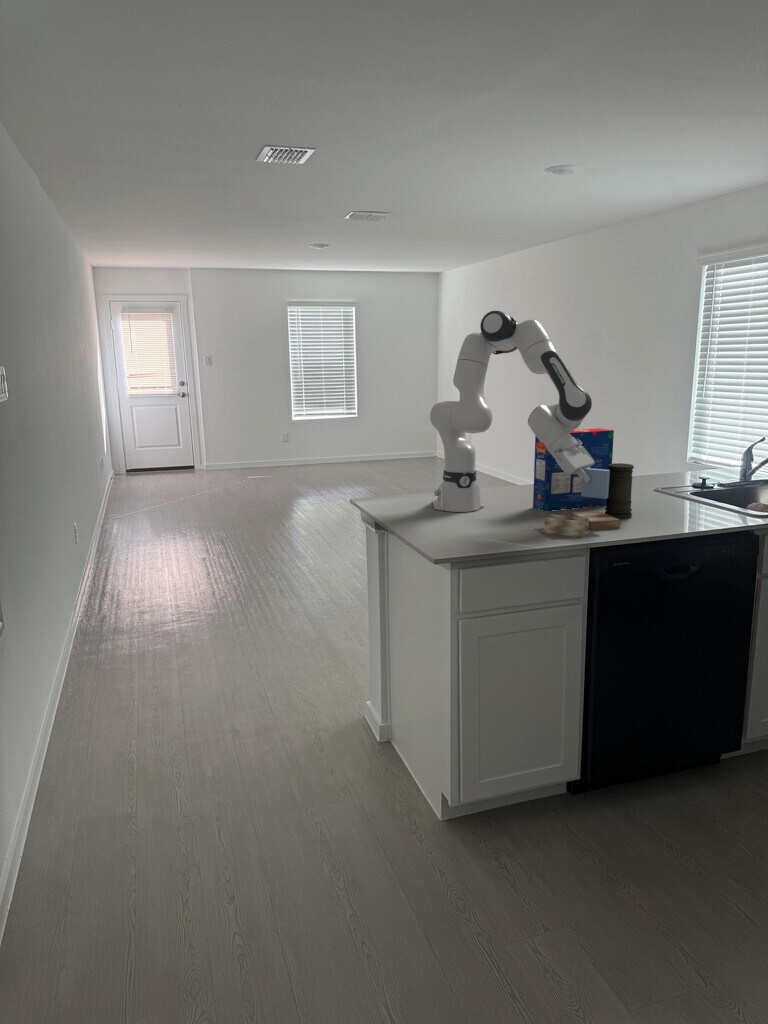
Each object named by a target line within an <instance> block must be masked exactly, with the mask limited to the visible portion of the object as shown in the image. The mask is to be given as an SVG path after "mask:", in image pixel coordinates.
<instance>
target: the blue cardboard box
mask: <svg viewBox="0 0 768 1024" xmlns="http://www.w3.org/2000/svg"><path fill="white" fill-rule="evenodd" d="M569 433H570V434H571V436H573V437H574V438H576V439H579V440H580V441H581V442H582V445H581V446H583V447H584V448H585V449H586V450H587V452H588V453H589V454H590V456H591V457H592V458H593V460H594V464H593V465H592V466H591V467H590V468H592V469H604V470H609V468H608V465H609V464H613V455H614V454H613V453H614V435H615V429H608V428H600V427H598V428H581V429H574V430H573V431H571V432H569ZM534 435H535V434H534ZM534 437H535V439H534V463H533V464H534V465H533V466H534V467H533V468H534V469H533V494H532V495H533V498H532V500H533V501H532V509H535V508H536V510H538V509H540V510H539V511H541V510H543V511H542V512H544V511H551V512H553V511H552V510H561V509H570V510H573V509H572V508H580V509H584V508H583V507H590V508H596V506H600V507H606V503H607V501H606V500H607V498H606V499H603V498H594V497H584V496H581V490H582V478H581V477H580V476H578V475H577V473H574V474H571V475H567V474H566V473H565V472H564V471H563V470H562V469H561V467H560V466H559V465H558V463H557V462H556V460H555V458H554V457H553V456H552V455H551V453H550V452H549V451H548V450H547V448H546V446H545V444H544V443H543V442H541V441H540V440H539V439H538V438H537V437H536V435H535V436H534ZM561 511H562V510H561Z"/></svg>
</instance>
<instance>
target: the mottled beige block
mask: <svg viewBox="0 0 768 1024" xmlns="http://www.w3.org/2000/svg"><path fill="white" fill-rule="evenodd" d="M588 524H589V518H580V517H571V515H570V516H568V515H562V514H553V513H552V514H550V516H549V517H548V516H547V517H546V516H545V517H544V527H543V528H544V530H542V532H544V533H552V534H560V535H567V536H575V537H584V536H586V535H587V534H589V533H590V531H591V530H589V529H588ZM588 530H589V531H588ZM584 538H585V537H584Z"/></svg>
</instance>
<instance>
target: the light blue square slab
mask: <svg viewBox="0 0 768 1024" xmlns="http://www.w3.org/2000/svg"><path fill="white" fill-rule="evenodd" d="M583 470H584V472H585V473H586V474H587V475H589V476H590V477H591V480H590V481H589V482H585V481H584V479H583V478H582V490H581V496H584V497H594V498H603V499H606V498H608V491H609V477H610V470H604V469H592V468H584V469H583Z"/></svg>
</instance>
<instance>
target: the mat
mask: <svg viewBox="0 0 768 1024" xmlns="http://www.w3.org/2000/svg"><path fill="white" fill-rule="evenodd" d="M533 530H534V531H535V532H538V534H539V533H540V534H541V535H543V536H544V537H547V538H548V539H550V540H552V541H553V540H564V539H565V540H566V539H567V540H568V539H582V538H598V537H600V535H599V534H597V533H594V532H593V531H592V530H590V529H588V531H590V533H589V534H587V535H586V536H584V537H575V536H567V535H560V534H552V533H544V532H542V530H544V527H541V528H540V527H539V528H533Z"/></svg>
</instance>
